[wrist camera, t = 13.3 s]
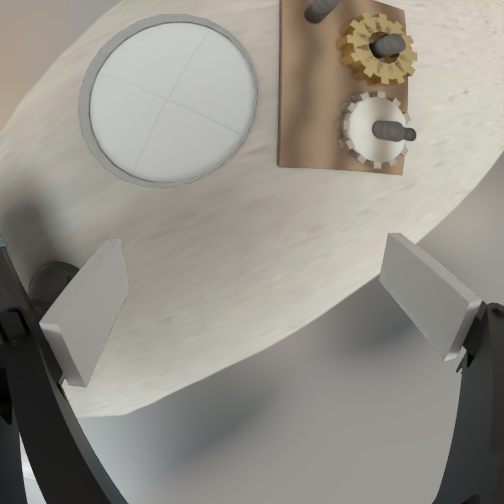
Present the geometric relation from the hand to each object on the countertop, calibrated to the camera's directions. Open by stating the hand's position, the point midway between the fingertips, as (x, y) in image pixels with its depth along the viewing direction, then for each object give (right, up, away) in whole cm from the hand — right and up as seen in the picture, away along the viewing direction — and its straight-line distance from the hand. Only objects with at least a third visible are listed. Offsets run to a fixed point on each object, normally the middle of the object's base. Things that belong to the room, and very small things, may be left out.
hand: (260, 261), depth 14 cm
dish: (-11, +20, +20) cm, 30 cm away
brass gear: (+15, +27, +16) cm, 35 cm away
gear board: (+12, +24, +20) cm, 33 cm away
